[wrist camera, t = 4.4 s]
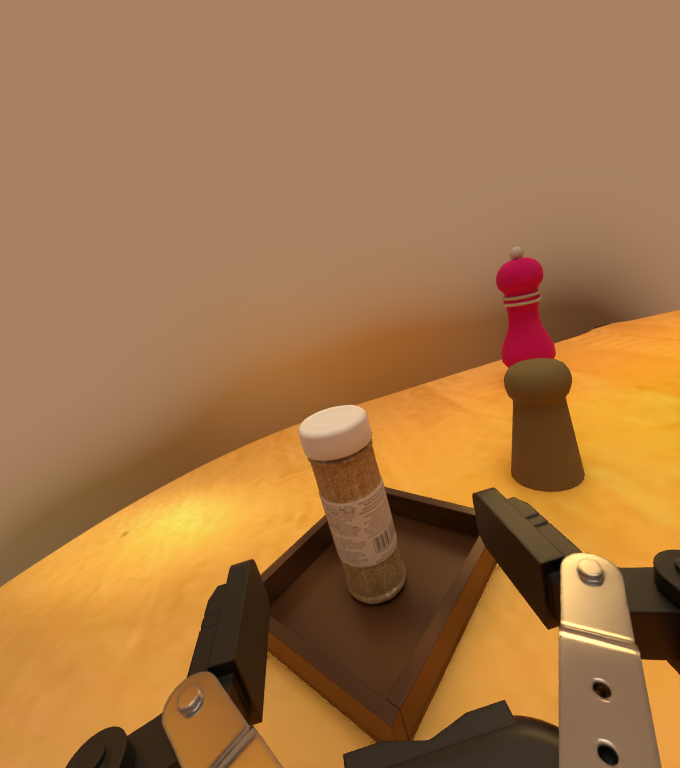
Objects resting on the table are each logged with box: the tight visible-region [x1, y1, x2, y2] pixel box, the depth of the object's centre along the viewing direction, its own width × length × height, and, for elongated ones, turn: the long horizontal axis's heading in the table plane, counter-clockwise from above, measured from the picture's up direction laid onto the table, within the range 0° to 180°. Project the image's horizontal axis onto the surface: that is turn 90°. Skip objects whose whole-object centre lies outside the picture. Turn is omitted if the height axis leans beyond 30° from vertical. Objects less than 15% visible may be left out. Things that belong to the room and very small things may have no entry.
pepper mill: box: [496, 247, 556, 368], centre depth 53 cm, size 7×7×20 cm
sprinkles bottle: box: [299, 405, 406, 604], centre depth 25 cm, size 5×5×13 cm
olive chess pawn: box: [504, 358, 585, 491], centre depth 33 cm, size 6×6×11 cm
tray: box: [260, 487, 497, 742], centre depth 27 cm, size 16×14×2 cm
